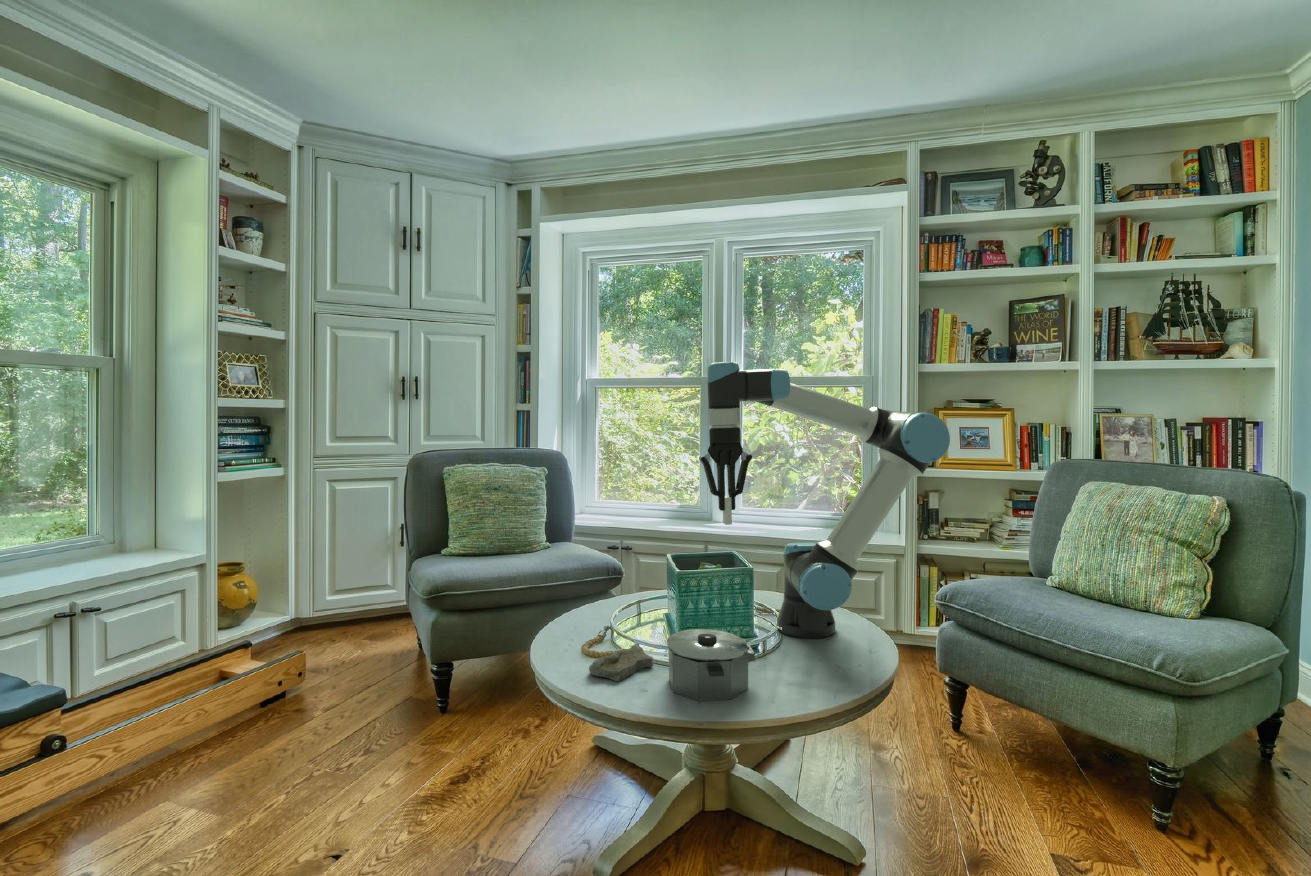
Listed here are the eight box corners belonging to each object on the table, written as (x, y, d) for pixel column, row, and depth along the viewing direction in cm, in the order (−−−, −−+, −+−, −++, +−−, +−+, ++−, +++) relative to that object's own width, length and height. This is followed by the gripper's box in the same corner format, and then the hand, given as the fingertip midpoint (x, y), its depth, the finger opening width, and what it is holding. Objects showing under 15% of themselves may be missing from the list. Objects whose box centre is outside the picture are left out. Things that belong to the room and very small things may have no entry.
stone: (628, 656, 162) (628, 639, 162) (658, 667, 156) (658, 649, 155) (582, 674, 151) (581, 657, 151) (611, 687, 145) (611, 668, 145)
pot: (741, 663, 156) (741, 629, 156) (764, 703, 135) (764, 664, 135) (665, 666, 155) (665, 632, 154) (677, 707, 134) (676, 668, 133)
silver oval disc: (737, 632, 154) (738, 624, 154) (756, 660, 137) (756, 651, 137) (663, 632, 152) (663, 623, 152) (672, 661, 135) (672, 651, 135)
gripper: (746, 425, 168) (749, 519, 169) (695, 427, 166) (698, 522, 167) (755, 426, 160) (758, 524, 162) (701, 428, 158) (704, 528, 160)
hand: (727, 523), depth 164 cm, fingers closed
